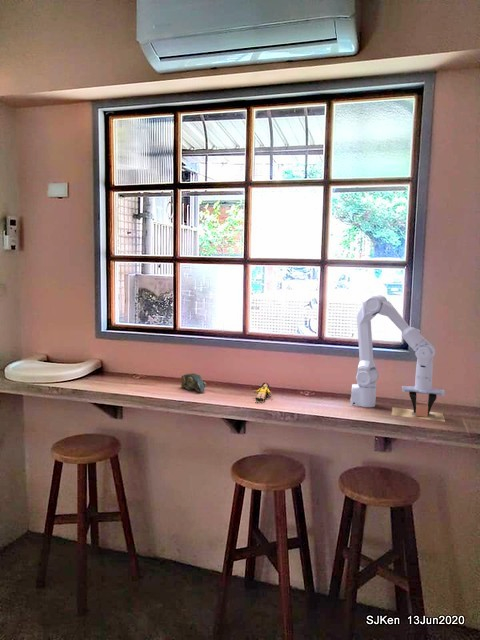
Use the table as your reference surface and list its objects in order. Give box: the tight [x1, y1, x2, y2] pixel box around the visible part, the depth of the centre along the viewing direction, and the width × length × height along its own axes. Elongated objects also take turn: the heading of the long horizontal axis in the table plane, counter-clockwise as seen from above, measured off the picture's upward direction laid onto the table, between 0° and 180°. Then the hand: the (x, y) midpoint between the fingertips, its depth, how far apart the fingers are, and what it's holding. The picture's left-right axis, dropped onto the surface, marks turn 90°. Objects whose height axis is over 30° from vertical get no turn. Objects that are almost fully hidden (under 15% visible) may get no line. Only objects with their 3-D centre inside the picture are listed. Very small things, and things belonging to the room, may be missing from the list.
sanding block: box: [415, 400, 428, 417], centre depth 173 cm, size 4×6×4 cm, turn 161°
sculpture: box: [180, 373, 207, 394], centre depth 203 cm, size 13×6×7 cm, turn 38°
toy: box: [252, 382, 272, 404], centre depth 194 cm, size 8×4×15 cm
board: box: [391, 406, 446, 423], centre depth 173 cm, size 18×11×1 cm, turn 71°
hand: (421, 412), depth 173 cm, fingers closed on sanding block, 4 cm apart
